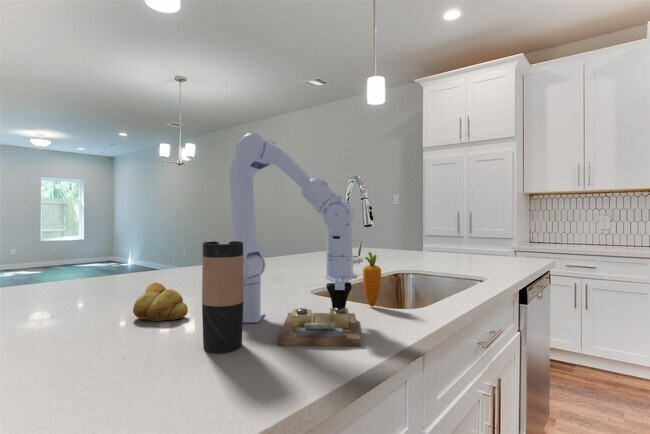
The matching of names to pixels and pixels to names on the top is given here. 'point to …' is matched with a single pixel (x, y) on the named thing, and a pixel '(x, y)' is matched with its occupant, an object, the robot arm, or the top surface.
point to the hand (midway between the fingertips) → (338, 315)
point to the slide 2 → (339, 317)
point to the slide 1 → (300, 318)
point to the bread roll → (160, 304)
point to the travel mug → (222, 296)
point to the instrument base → (320, 332)
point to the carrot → (371, 280)
